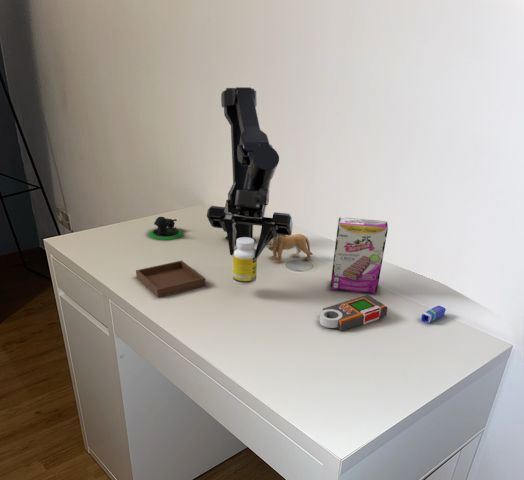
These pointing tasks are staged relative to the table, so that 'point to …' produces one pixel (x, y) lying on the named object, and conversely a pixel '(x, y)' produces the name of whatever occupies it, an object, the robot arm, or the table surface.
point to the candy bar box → (358, 254)
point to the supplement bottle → (244, 262)
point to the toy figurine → (165, 229)
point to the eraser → (433, 314)
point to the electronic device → (352, 313)
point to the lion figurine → (289, 245)
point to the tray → (170, 278)
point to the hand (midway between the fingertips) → (243, 256)
